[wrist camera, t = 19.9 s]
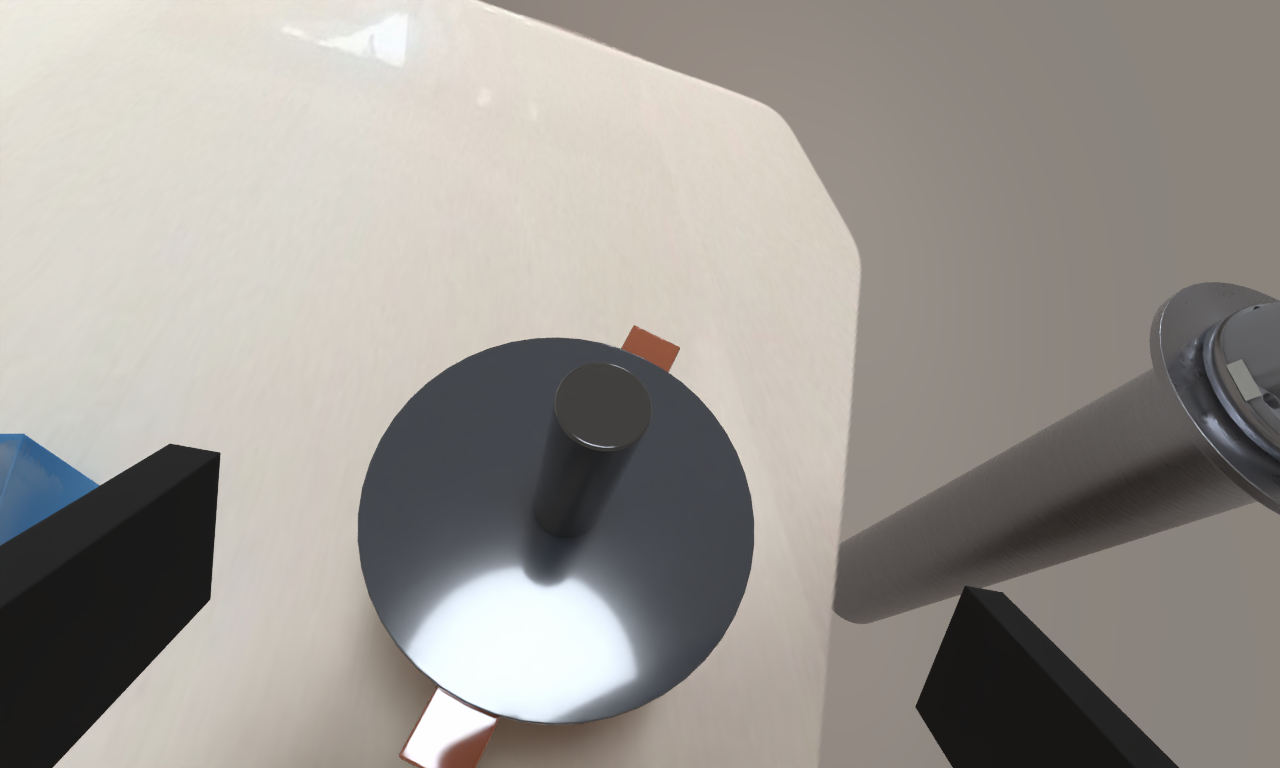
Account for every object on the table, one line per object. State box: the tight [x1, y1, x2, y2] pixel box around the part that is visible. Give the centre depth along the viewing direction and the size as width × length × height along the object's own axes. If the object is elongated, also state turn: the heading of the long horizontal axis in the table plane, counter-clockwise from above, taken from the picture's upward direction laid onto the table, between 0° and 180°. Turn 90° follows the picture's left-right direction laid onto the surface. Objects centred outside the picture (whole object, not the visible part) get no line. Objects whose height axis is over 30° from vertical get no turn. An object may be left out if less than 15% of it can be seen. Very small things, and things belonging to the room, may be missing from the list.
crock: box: [399, 325, 680, 768], centre depth 30 cm, size 14×19×10 cm
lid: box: [358, 338, 754, 725], centre depth 22 cm, size 15×15×10 cm
